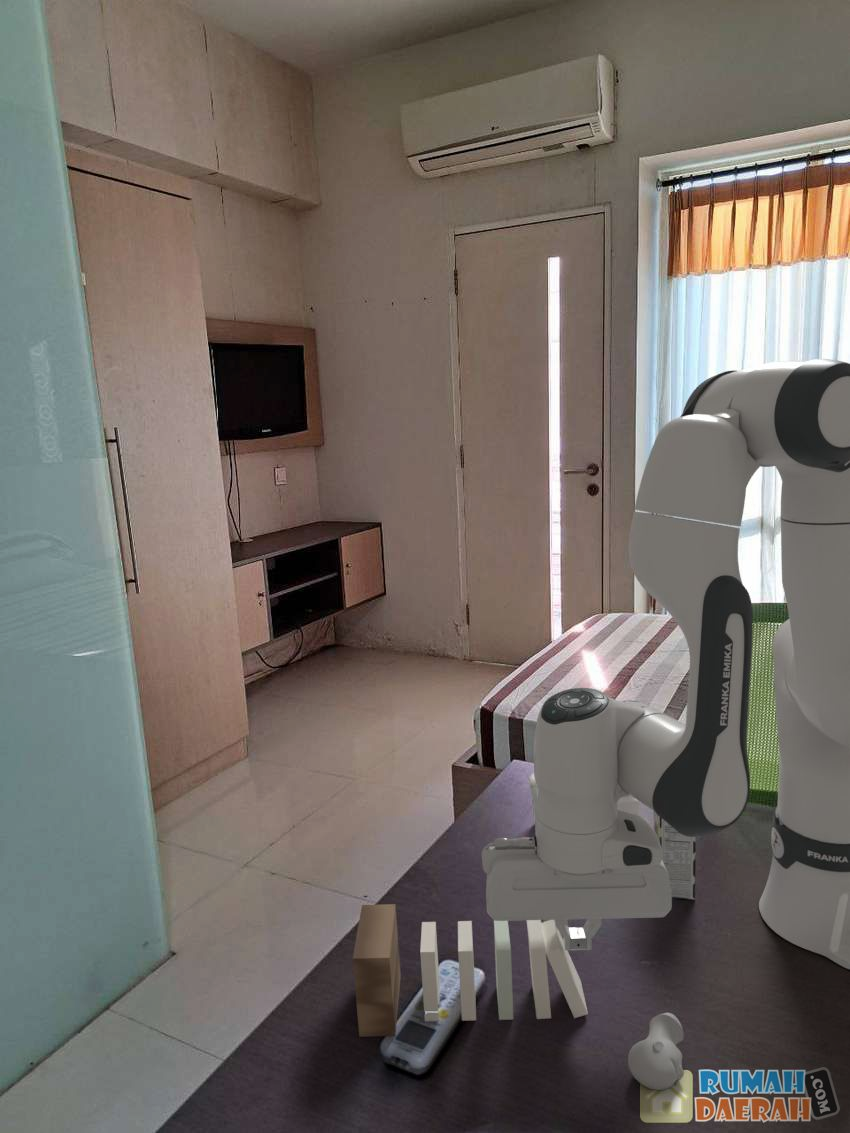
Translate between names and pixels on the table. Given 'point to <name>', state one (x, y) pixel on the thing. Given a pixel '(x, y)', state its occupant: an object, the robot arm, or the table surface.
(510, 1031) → the table surface
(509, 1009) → the domino
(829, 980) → the table surface
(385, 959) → the end block
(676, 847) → the candy bar box
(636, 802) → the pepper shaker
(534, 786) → the milkshake
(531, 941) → the domino
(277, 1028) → the table surface
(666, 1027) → the smooth white sculpture
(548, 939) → the domino
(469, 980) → the domino
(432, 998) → the domino
